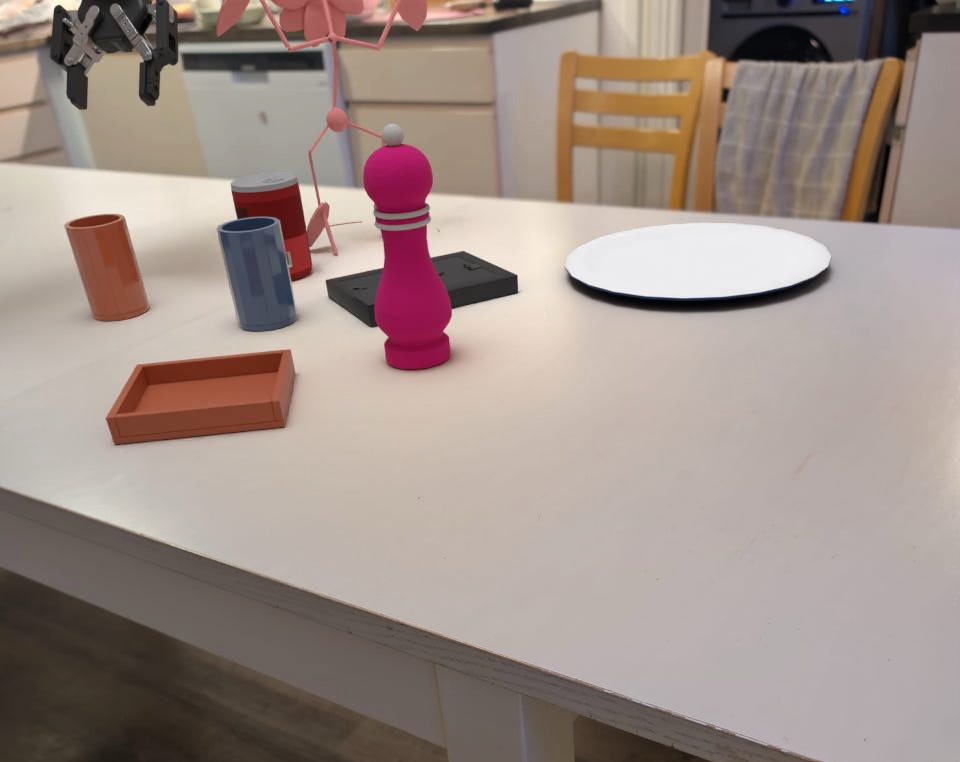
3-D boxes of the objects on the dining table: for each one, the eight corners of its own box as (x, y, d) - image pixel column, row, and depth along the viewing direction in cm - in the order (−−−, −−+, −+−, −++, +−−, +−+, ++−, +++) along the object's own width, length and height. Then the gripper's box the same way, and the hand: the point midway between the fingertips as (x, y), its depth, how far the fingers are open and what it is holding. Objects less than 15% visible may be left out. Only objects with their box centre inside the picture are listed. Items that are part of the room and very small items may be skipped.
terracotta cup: (87, 323, 106) (57, 230, 100) (100, 306, 112) (72, 216, 106) (143, 318, 107) (116, 224, 101) (154, 300, 112) (129, 211, 106)
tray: (114, 444, 79) (105, 418, 77) (143, 389, 89) (136, 364, 87) (285, 427, 79) (279, 400, 78) (295, 373, 89) (290, 348, 88)
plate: (867, 300, 94) (870, 283, 93) (576, 322, 95) (576, 305, 94) (788, 227, 117) (790, 213, 116) (555, 246, 118) (555, 231, 117)
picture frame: (371, 327, 98) (518, 292, 104) (367, 305, 97) (517, 271, 103) (327, 297, 108) (464, 266, 114) (324, 277, 107) (463, 247, 112)
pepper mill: (381, 348, 93) (350, 121, 81) (454, 341, 93) (433, 113, 81) (380, 375, 87) (346, 134, 75) (457, 367, 87) (436, 126, 75)
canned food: (326, 269, 117) (310, 173, 111) (281, 287, 112) (262, 188, 106) (282, 263, 121) (264, 170, 115) (237, 280, 116) (216, 184, 110)
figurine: (457, 231, 128) (431, -93, 107) (279, 269, 119) (212, -76, 98) (408, 212, 139) (376, -85, 118) (242, 245, 130) (175, -69, 109)
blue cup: (235, 334, 100) (212, 235, 94) (242, 314, 105) (221, 220, 99) (295, 327, 100) (276, 228, 94) (299, 309, 105) (281, 214, 99)
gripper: (37, -65, 100) (33, 90, 101) (157, -78, 97) (151, 82, 98) (81, -20, 108) (77, 124, 109) (194, -31, 105) (188, 118, 106)
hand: (112, 104), depth 103 cm, fingers open, 8 cm apart
